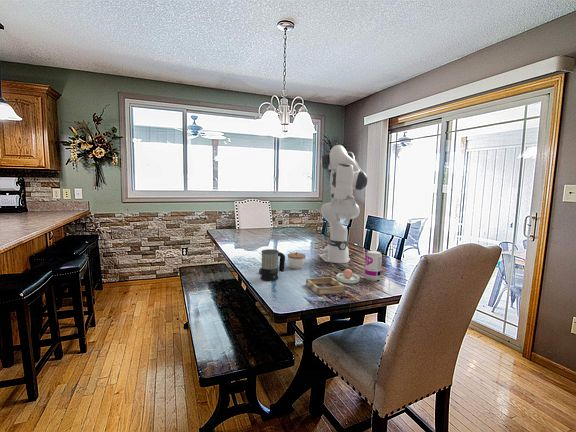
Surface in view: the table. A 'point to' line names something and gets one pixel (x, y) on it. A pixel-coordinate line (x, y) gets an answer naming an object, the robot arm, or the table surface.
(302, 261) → the lidded jar
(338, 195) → the robot arm
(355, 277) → the saucer
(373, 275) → the soda can
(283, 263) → the milk frother
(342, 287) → the wooden square frame
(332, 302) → the table surface
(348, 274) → the ball
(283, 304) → the table surface
